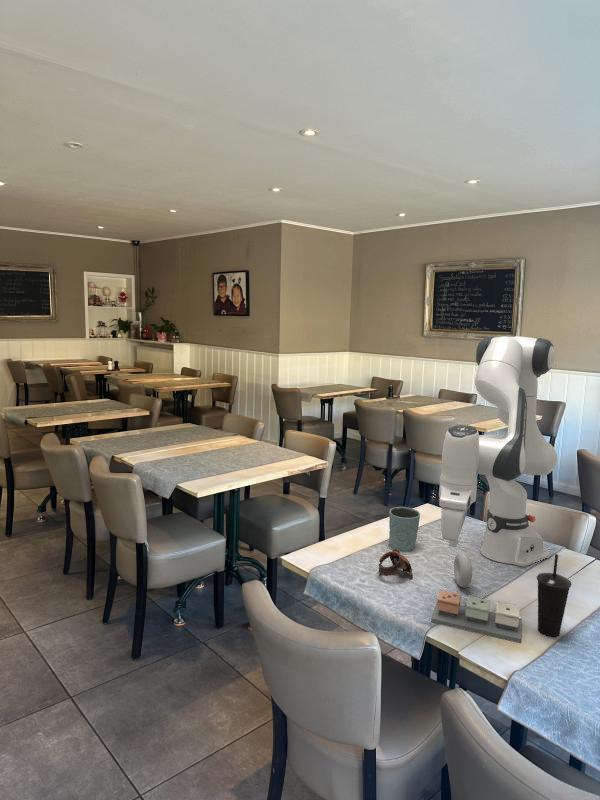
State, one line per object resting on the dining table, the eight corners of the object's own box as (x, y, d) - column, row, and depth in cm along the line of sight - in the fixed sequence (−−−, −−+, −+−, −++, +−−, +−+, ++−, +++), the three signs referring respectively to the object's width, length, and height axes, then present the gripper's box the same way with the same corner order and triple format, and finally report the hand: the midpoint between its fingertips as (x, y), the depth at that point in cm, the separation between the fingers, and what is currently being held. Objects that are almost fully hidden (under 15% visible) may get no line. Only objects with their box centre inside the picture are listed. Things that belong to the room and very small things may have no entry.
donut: (451, 577, 163) (453, 545, 162) (463, 578, 163) (465, 545, 162) (459, 594, 153) (462, 560, 152) (472, 594, 153) (475, 560, 152)
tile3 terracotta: (436, 609, 140) (437, 598, 140) (439, 600, 145) (440, 589, 145) (457, 614, 138) (458, 603, 138) (460, 604, 143) (461, 593, 143)
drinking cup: (525, 623, 139) (533, 548, 136) (554, 623, 140) (563, 548, 137) (541, 641, 132) (549, 561, 129) (572, 640, 133) (581, 561, 130)
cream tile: (495, 622, 135) (496, 611, 135) (496, 612, 140) (497, 601, 139) (518, 627, 133) (519, 616, 133) (518, 617, 138) (519, 606, 137)
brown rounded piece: (417, 585, 159) (406, 564, 156) (386, 595, 161) (375, 574, 158) (412, 558, 170) (402, 537, 167) (383, 567, 172) (373, 547, 169)
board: (430, 622, 139) (431, 612, 138) (437, 603, 148) (437, 594, 148) (520, 643, 131) (521, 633, 131) (521, 622, 140) (522, 613, 140)
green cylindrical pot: (403, 538, 191) (406, 505, 189) (424, 549, 183) (427, 514, 181) (380, 543, 186) (382, 509, 184) (401, 555, 178) (403, 519, 176)
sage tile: (465, 615, 138) (466, 604, 137) (467, 606, 142) (468, 595, 142) (487, 620, 136) (488, 609, 135) (488, 610, 140) (489, 600, 140)
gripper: (450, 479, 148) (446, 528, 150) (438, 501, 129) (434, 557, 131) (474, 482, 145) (470, 532, 148) (466, 506, 127) (461, 563, 129)
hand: (453, 544), depth 139 cm, fingers closed
